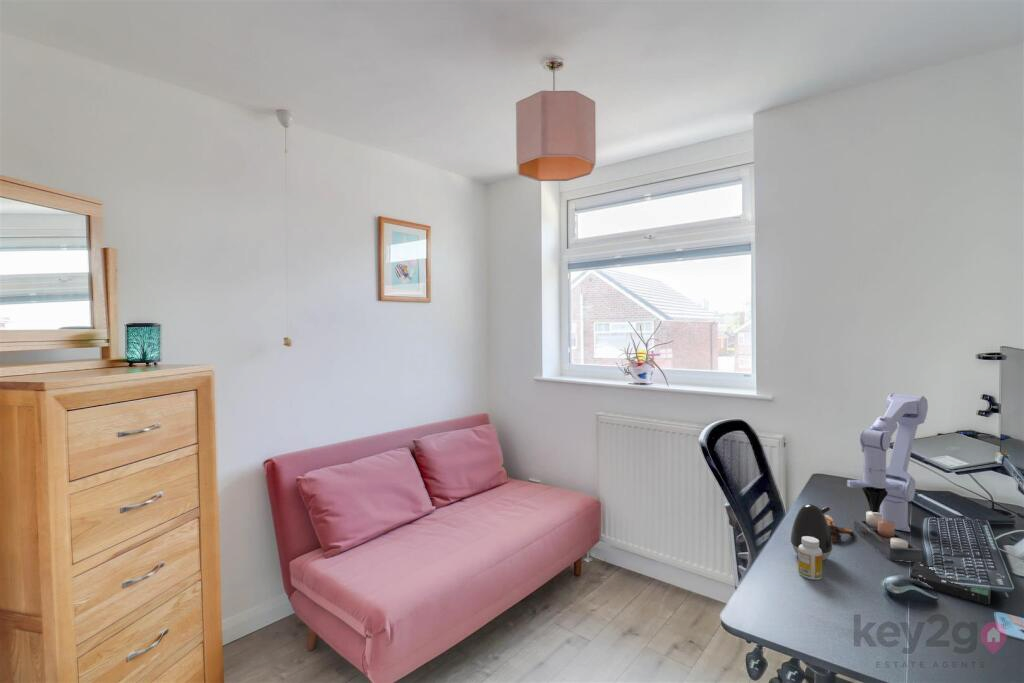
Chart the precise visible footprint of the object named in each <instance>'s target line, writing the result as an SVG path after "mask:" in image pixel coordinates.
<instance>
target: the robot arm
mask: <svg viewBox="0 0 1024 683" xmlns="http://www.w3.org/2000/svg"><path fill="white" fill-rule="evenodd" d="M886 408H887V410H886V411H885V413H884V415H880V416H878V417H877V418H876V419H875V421H874V422H873V423H872V425H871V426H870V427H869V428H866V429H863V430H862V431H861V433H860V438H859V443H860V446H861V452H862V453H863V469H862V471H863V475H862V476H863V477H862V479H847V480H846V486H847V488H848V487H849V489H854V488H857V489H858V488H860V489H862V491H863V493H864V495H865V497H866V500H867V503H868V507H869V511H872V512H877V513H880V514H882V520H887V521H891V522H893V523H894V524H895V530H899V531H903V532H909V533H910V532H911V528H910V526H909V523H908V518H909V516H908V513H909V512H908V511H909V510H908V508H909V507H908V506H909V505H908V504H909V502H912V501H913V500H914V498H915V494H916V485H917V484H916V480H915V478H914V477H913V476H912V475H911V474H910V473H908V468H909V463H910V459H911V455H912V450H913V446H914V442H915V437H916V433H917V430H918V427H919V425H921V424H925V420H926V419H927V414H928V411H929V410H928V408H929V405H928V400H927V398H926V397H925V396H924V395H909V394H897V393H890V394H889V395H888V396H887V397H886ZM895 432H896V434H895V437H894V438H895V439H894V443H893V447H892V451H891V454H890V458H889V459H890V460H889V463H888V466H887V451H888V450H889V448H890V447H891V443H892V436H893V434H894V433H895Z"/></svg>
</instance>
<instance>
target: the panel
mask: <svg viewBox="0 0 1024 683" xmlns="http://www.w3.org/2000/svg"><path fill="white" fill-rule="evenodd" d="M853 522H854V523H853V531H854V532H856V533H857V535H858V536H860V535H861V538H863V539H864V540H865V541H866V542H867V541H868V544H870V546H872V545H873V546H874V547H873V546H872V547H873V548H875V549H876V550H877V549H878V550H879V551H880V552H881V553H880V552H879V551H878V550H877V551H878V552H879V553H880V554H881V555H883V554H884V555H885V556H886V557H887V558H888V559H887V558H886V557H885V556H884V555H883V556H884V557H885V558H886V559H887V560H889V561H890V560H903V561H911V562H910V563H914V562H921V563H923V562H924V561H923V559H924V550H923V549H921V548H920V547H918V546H917V545H915V544H914V543H913V542H912V541H910V540H909V539H908V538H906V537H905V536H903V535H902V534H900V533H899V532H898V531H896V529H895V530H894V538H900V539H903V540H906V541H907V542H908V548H899V547H893V546H892V545H891V544H890V539H891V538H892V537H881V536H879V535H878V528H872V527H868V526H867V525H866V519H854V520H853ZM923 564H924V563H923Z"/></svg>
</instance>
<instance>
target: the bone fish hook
mask: <svg viewBox="0 0 1024 683" xmlns="http://www.w3.org/2000/svg"><path fill="white" fill-rule="evenodd" d="M824 516H825V518H826V520H827V523H828V525H829V529H830V533H831V538H832V543H837V542H839V541H840V539H841V537H842V536H841V535H840V534H843V535H853V534H854V530H853V529H850V528H844V527H840V526H836V524H835V520H834V519H833V517H832V516H831V515H828V514H824Z"/></svg>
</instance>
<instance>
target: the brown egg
mask: <svg viewBox="0 0 1024 683" xmlns="http://www.w3.org/2000/svg"><path fill="white" fill-rule="evenodd" d="M894 530H895V531H896V529H895V524H894V523H893V522H891V521H887V520H878V535H879V536H881V537H892V538H894Z"/></svg>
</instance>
